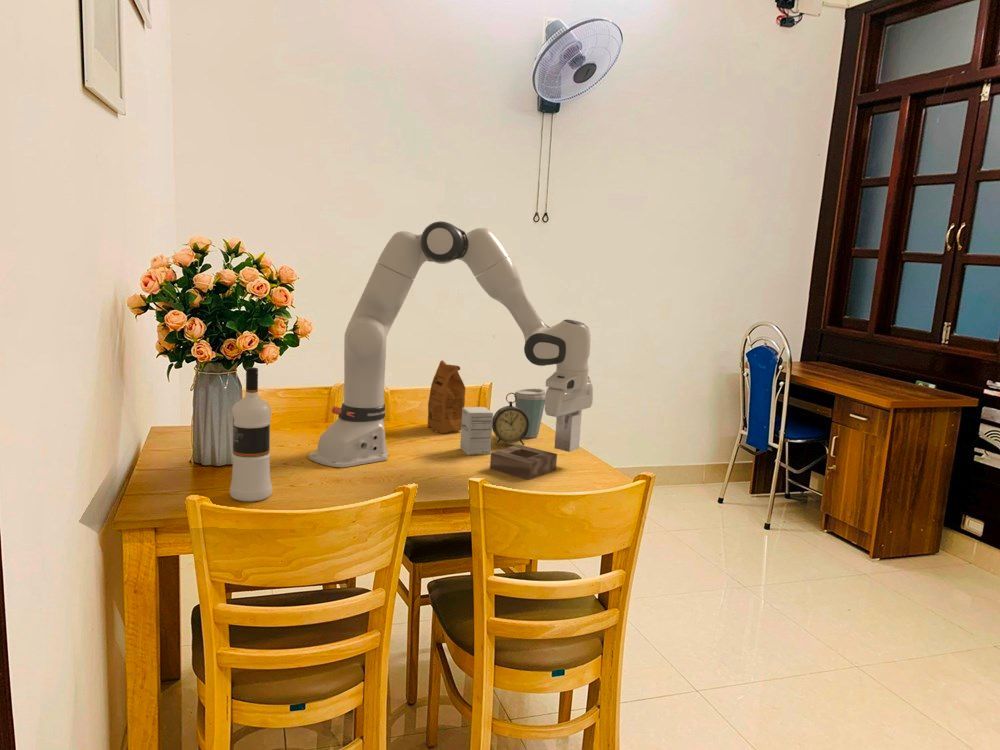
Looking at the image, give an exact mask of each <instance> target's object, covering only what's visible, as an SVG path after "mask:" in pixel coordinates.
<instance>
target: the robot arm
mask: <svg viewBox="0 0 1000 750" xmlns="http://www.w3.org/2000/svg"><path fill="white" fill-rule="evenodd" d="M457 260H459V261H462V262H464V264H466V266H467V267H468V268H469V270H470V271H471V272H472V275H473V276H474V278H475V279H476V281H477V283H478V285H480V287H481V288H482V289H483V291H484V292H485V293H486V294H487V295H488V296H489V297H490V298H491V299H493V300H495V301H497V302H499V303H500V304H502V305H503V306H504V307H505V308H506V309H507V311H509V313H510V315H511V316H512V318H513V319H514V320H515V322H516V324H517V325H518V327H519V328H520V331H521V332H522V334H523V338H524V348H523V353H524V355H525V357H526V360H528V361H529V362H530V363H531V364H533V365H535V366H537V367H546V366H552V365H556V371H554V372H553V374H552V375H550V376H549V377H548V378H546V379H545V387H547V389H546V390H545V394H546V395H545V405H544V411H545V414H546V416H549V417H555V418H556V419H557V421H558V429H560V430H564V429H566V423H565V420H564V418H565V415H566V414H569V413H572V412H574V413H579V414H582V412H583V410H586V409H590V408H591V407H592V405H593V402H594V401H593V399H594V397H593V396H594V391H593V385H592V380H591V378H590V377H589V364H588V362H589V357H590V353H591V331H590V328H589V327H588V326H587V325H586V324H585V323H583V322H581V321H577V320H573V319H563V320H562V321H560V322H559V323H556V324H555V325H552V326H548V325H547V324H546V323H544V321H543V320H542V319H541V318H540V316H539V314H538V313H537V312H536V310H535V308H534V307H533V305H532V303H531V302H530V300H529V298H528V297H527V295H526V293H525V290H524V286H523V284H522V280H521V277H520V274H519V271H518V269H517V266H516V265H515V263H514V260H513V259H512V258H511V256H510V254H509V252H508V251H507V249H506V248H505V247H504V246H503V244H502V242H500V240H499V239H498V238H497V237H496V236H495V234H493V232H492V231H491V230H490V229H488V228H486V227H478V228H475V229H472V230H470V231H469V232H466V231H464V230H462V229H461V228H458V227H457V226H456V225H454V224H452V223H449V222H447V221H441V220H439V221H435V222H432V223H430V224H429V225H427V226H426V227H425V228H424V230H423V231H422V233H420V234H415V233H413V232H410V231H403V230H402V231H400V230H399V231H397V232H395V233H394V234H393V235H392V236H391V238H390V239H389V240H388V242H387V243H386V245H385V247H384V248H383V250H382V252H381V254H380V255H379V257H378V259H377V262H376V264H375V266H374V268H373V270H372V272H371V274H370V277H369V278H368V281H367V283H366V284H365V285H366V286H365V287H364V290H363V291H362V294H361V296H360V298H359V301H358V303H357V305H356V307H355V309H354V311H353V313H352V316H351V317H350V319H349V322H348V323H347V327H346V328H345V332H344V337H343V338H344V342H343V343H344V346H343V347H344V348H343V349H344V351H343V352H344V353H343V354H344V355H343V356H344V357H343V359H344V360H343V361H344V362H343V363H344V368H343V369H344V370H343V371H344V379H343V380H344V381H343V382H344V383H343V402H342V404H341V406H340V407H338V406H332V407H331V410H330V411H331V413H332V414H334V415H338V416H337V417H338V418H337V419H336V420H335V421H334V422H333V423H332V424H330V426H329V427H328V428H327V429H325V431H324V432H322V434H320V436H319V438H318V441H317V442H318V443H317V450H316V451H313V452H310V453H309V454H308V459H310V461H312V462H315V463H317V464H321V465H324V466H328V467H332V468H333V467H335V468H349V467H353V466H359V465H364V464H371V463H375V462H381V461H383V462H384V461H387V460H388V459H389V457H388V455H389V451H388V448H387V441H386V431H385V423H384V421H385V420H384V418H386V404H385V383H386V382H385V381H386V380H385V379H386V360H387V359H386V355H387V336H388V334H389V332H390V330H391V329H392V326H393V324H394V322H395V319H396V318H397V316H398V314H399V312H400V311H401V308H402V307H403V306H404V305H403V304H404V303H405V300H406V299H407V296H408V293H409V292H410V290H411V287H412V285H413V283H414V281H415V279H416V276H417V274H418V273H419V270H420V268H421V267H422V266H423V264H424V263H426V262H430V263H432V262H434V263H435V264H438V265H439V264H441V265H445V264H449V263H452V262H454V261H457Z"/></svg>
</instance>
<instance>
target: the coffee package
mask: <svg viewBox="0 0 1000 750" xmlns="http://www.w3.org/2000/svg"><path fill="white" fill-rule="evenodd" d="M460 370H461V366H459V365H457V364H448V363H446V362H445V361H444V360H443V359H442V360H440V362H439V364H438V366H437V369H436V371H435V374H434V376H433V379H432V383H431V386H430V391H429V396H428V403H427V427H428V428H430V427H431V428H430V429H432V431H433V430H434V431H433V432H435V431H437V432H436V433H439V432H440V434H447V433H451V432H461V425H462V408H463V407H465V405H466V385H465V383H464V381H463V379H462V378H461V375H460V373H459V371H460Z"/></svg>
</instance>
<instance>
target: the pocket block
mask: <svg viewBox="0 0 1000 750" xmlns="http://www.w3.org/2000/svg"><path fill="white" fill-rule="evenodd" d="M557 459H558V453H555V452H551V451H548V450H547V451H546V450H542V449H540V448H539V449H538V448H535V447H531V446H526V445H522V444H519V443H518V444H515V445H512V446H509V447H505V448H502V449H499V450H496V451H491V453H490V462H489V469H490V468H491V469H490V470H493V469H494V470H493V471H496V470H497V472H501V473H503V474H508V475H511V476H515V477H518V478H522V479H526V480H528V481H529V480H533V479H535V478H537V477H540V476H543V475H545V474H548V473H551V472H554V471H556V470H557Z"/></svg>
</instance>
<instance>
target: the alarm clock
mask: <svg viewBox="0 0 1000 750" xmlns="http://www.w3.org/2000/svg"><path fill="white" fill-rule="evenodd" d="M509 395H513V396H514V395H515V392H509V393H508V394H507V395H506V396H505V400H506V402H507V403H508V404H509V405H506V406H505V405H504V406H503V407H501V408H499V409H498V410H497V411H496V412H495V413H493V422H492V433H494V435H495V436H496V437H497V438H498V439H497V441H496V443H494V445H495V446H498V444H499V443H500V442H503V443H506V444H515V443H518V442H520V443H521V445H523V446H525V443H524V442H523V439H524V438H526V437H525V435H526V434H527V432H528V429H529V420H528V417H527V415H526V414H525V413H524V412H523V411H522V410H520V409H519V408H517V407H516V406H513V404H514V403H515V401H516V399H517V396H516V395H515V397H516V399H515V397H514V401H508V396H509Z"/></svg>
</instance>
